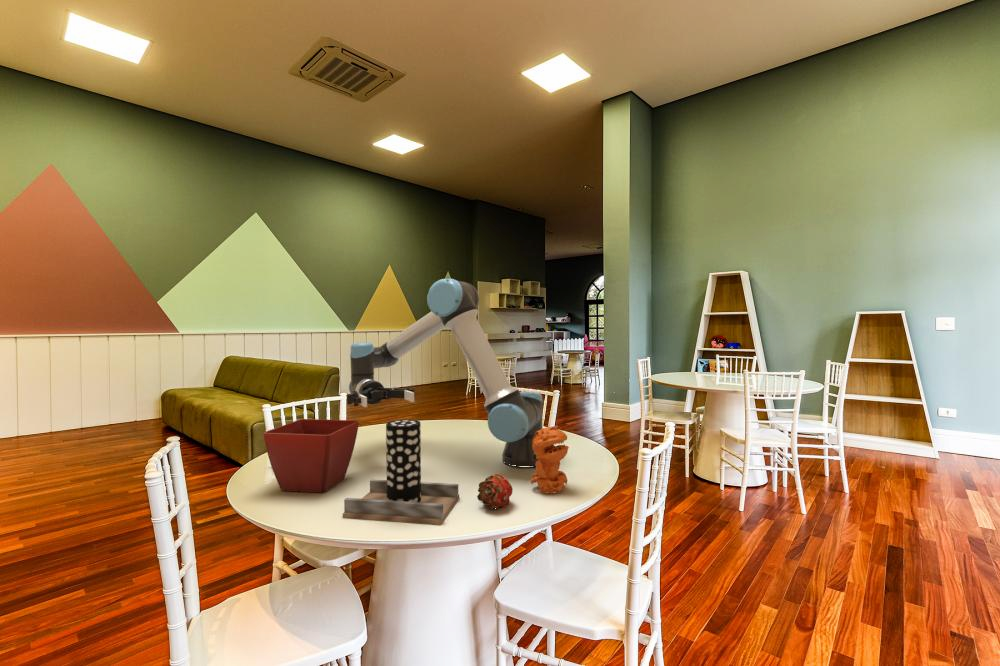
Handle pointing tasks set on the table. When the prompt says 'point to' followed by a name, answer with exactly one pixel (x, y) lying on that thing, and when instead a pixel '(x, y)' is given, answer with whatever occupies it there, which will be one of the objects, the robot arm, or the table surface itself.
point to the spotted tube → (403, 460)
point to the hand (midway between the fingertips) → (390, 399)
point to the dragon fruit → (495, 491)
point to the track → (404, 504)
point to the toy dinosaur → (549, 459)
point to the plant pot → (311, 453)
